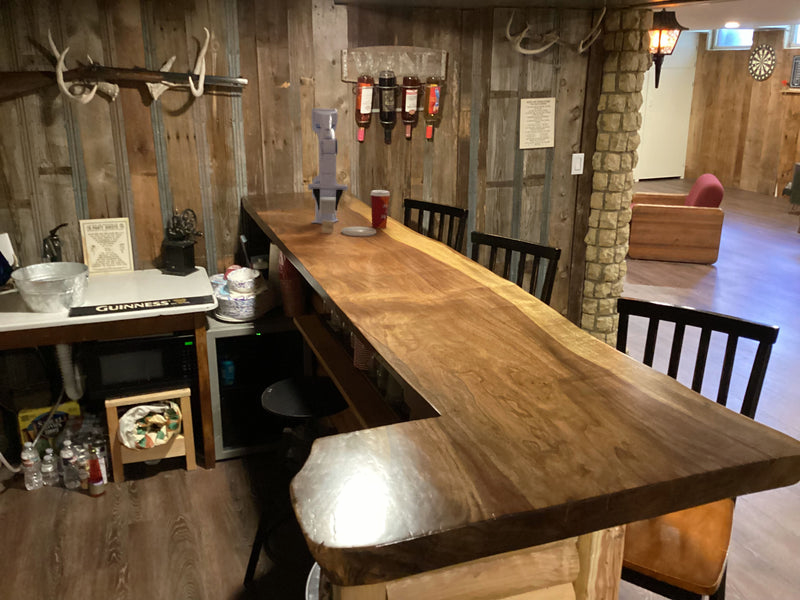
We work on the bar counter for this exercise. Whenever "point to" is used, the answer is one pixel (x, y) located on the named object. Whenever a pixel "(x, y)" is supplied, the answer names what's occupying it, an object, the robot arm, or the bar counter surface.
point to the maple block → (327, 226)
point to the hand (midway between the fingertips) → (327, 209)
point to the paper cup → (379, 208)
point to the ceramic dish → (358, 231)
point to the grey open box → (327, 205)
